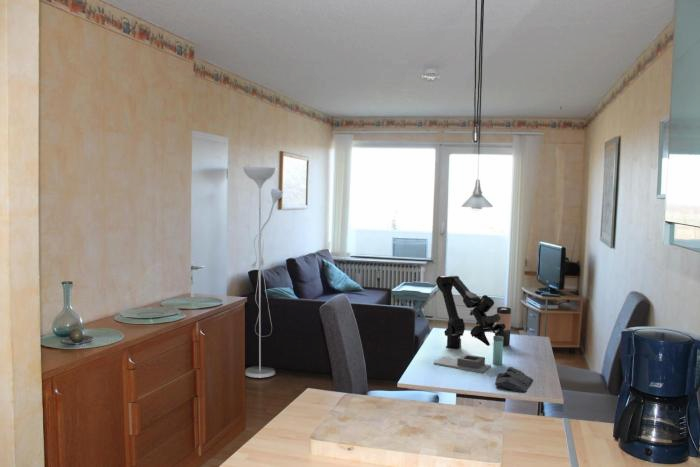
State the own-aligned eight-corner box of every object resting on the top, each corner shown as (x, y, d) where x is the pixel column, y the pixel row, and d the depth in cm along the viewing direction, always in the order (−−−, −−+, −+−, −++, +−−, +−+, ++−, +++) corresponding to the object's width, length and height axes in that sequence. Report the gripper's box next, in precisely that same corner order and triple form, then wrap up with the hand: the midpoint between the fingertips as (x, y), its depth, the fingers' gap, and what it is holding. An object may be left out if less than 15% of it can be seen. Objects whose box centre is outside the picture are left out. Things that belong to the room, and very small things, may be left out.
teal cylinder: (491, 363, 280) (492, 337, 279) (494, 361, 284) (495, 335, 283) (500, 365, 277) (501, 338, 276) (503, 363, 281) (504, 336, 281)
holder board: (433, 364, 277) (434, 355, 277) (443, 358, 287) (443, 350, 287) (482, 372, 265) (483, 364, 265) (490, 366, 275) (491, 358, 275)
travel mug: (508, 343, 322) (510, 307, 321) (511, 346, 314) (512, 309, 313) (494, 342, 323) (495, 306, 321) (496, 345, 315) (498, 309, 314)
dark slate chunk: (488, 388, 244) (489, 377, 244) (499, 374, 264) (499, 364, 264) (526, 394, 238) (527, 383, 237) (534, 380, 257) (534, 369, 257)
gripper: (475, 309, 280) (490, 337, 271) (503, 307, 289) (519, 333, 280) (463, 322, 288) (478, 349, 279) (492, 319, 297) (507, 346, 288)
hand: (496, 344), depth 281 cm, fingers open, 9 cm apart
